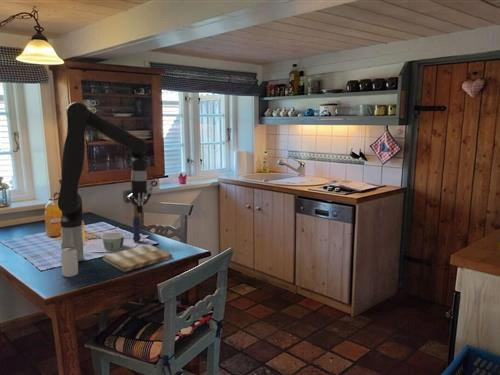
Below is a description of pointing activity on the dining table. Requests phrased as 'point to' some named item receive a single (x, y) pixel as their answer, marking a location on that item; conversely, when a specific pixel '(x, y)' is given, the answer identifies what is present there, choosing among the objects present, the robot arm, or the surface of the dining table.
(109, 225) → the dining table surface
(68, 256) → the can
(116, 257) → the cream ridged flat piece
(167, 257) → the oak board
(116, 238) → the food container
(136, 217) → the rubber mallet
